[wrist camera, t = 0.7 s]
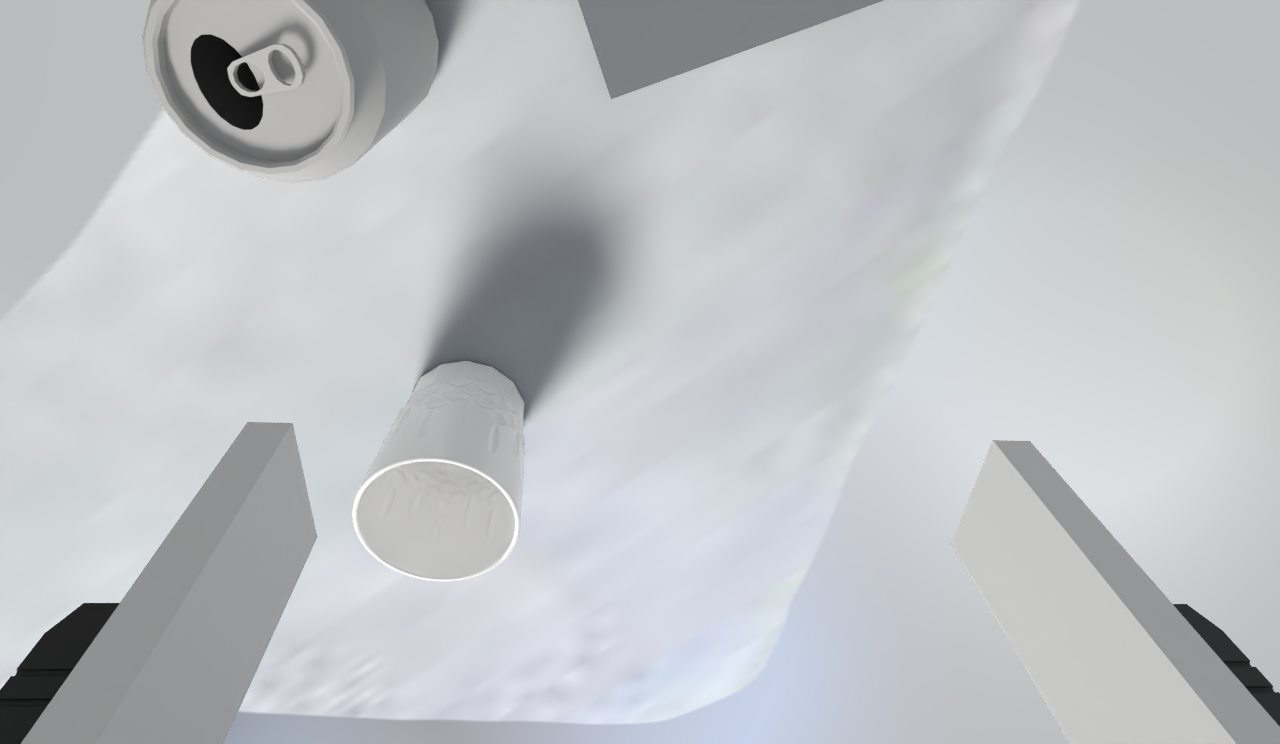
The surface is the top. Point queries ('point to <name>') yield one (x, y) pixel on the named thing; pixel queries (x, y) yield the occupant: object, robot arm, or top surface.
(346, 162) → the can
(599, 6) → the pin tray
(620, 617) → the top surface
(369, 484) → the white cup
